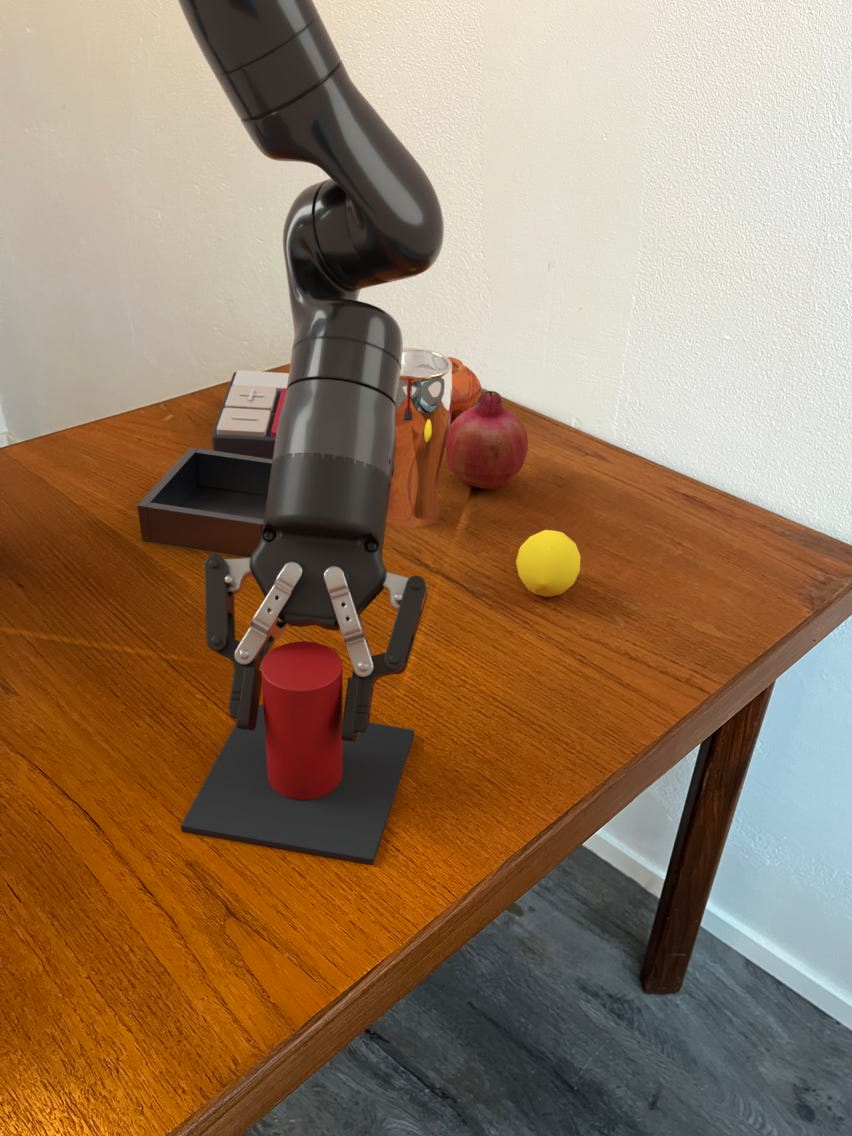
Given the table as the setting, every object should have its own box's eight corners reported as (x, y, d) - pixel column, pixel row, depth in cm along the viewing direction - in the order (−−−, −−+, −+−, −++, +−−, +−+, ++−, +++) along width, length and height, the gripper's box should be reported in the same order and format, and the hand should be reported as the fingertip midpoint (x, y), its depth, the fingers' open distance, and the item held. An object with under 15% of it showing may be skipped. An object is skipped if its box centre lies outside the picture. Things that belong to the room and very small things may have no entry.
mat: (181, 831, 61) (180, 825, 61) (247, 707, 71) (247, 702, 71) (373, 865, 61) (373, 859, 60) (414, 735, 70) (414, 729, 70)
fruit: (496, 514, 96) (506, 416, 90) (427, 488, 99) (432, 392, 94) (537, 484, 102) (549, 390, 96) (470, 460, 105) (477, 368, 99)
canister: (257, 793, 64) (249, 683, 58) (281, 743, 68) (276, 635, 62) (331, 806, 63) (329, 696, 58) (350, 755, 67) (351, 647, 62)
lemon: (572, 616, 83) (581, 561, 80) (508, 606, 84) (514, 551, 81) (579, 572, 89) (587, 519, 86) (518, 563, 90) (525, 510, 86)
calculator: (209, 429, 98) (233, 364, 109) (213, 468, 101) (236, 400, 112) (323, 435, 99) (335, 370, 110) (324, 474, 101) (335, 406, 113)
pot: (494, 407, 116) (494, 356, 111) (458, 444, 112) (456, 393, 106) (436, 386, 119) (433, 336, 114) (398, 422, 114) (393, 371, 109)
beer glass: (406, 542, 91) (413, 384, 82) (354, 513, 94) (355, 358, 86) (459, 518, 95) (471, 365, 86) (408, 490, 99) (414, 341, 90)
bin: (142, 545, 87) (137, 505, 85) (193, 485, 96) (190, 447, 94) (272, 565, 86) (270, 525, 84) (311, 502, 95) (311, 464, 93)
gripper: (204, 436, 60) (161, 718, 57) (443, 461, 60) (411, 744, 57) (233, 476, 67) (196, 727, 65) (446, 498, 67) (418, 750, 65)
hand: (297, 733), depth 61 cm, fingers open, 5 cm apart
